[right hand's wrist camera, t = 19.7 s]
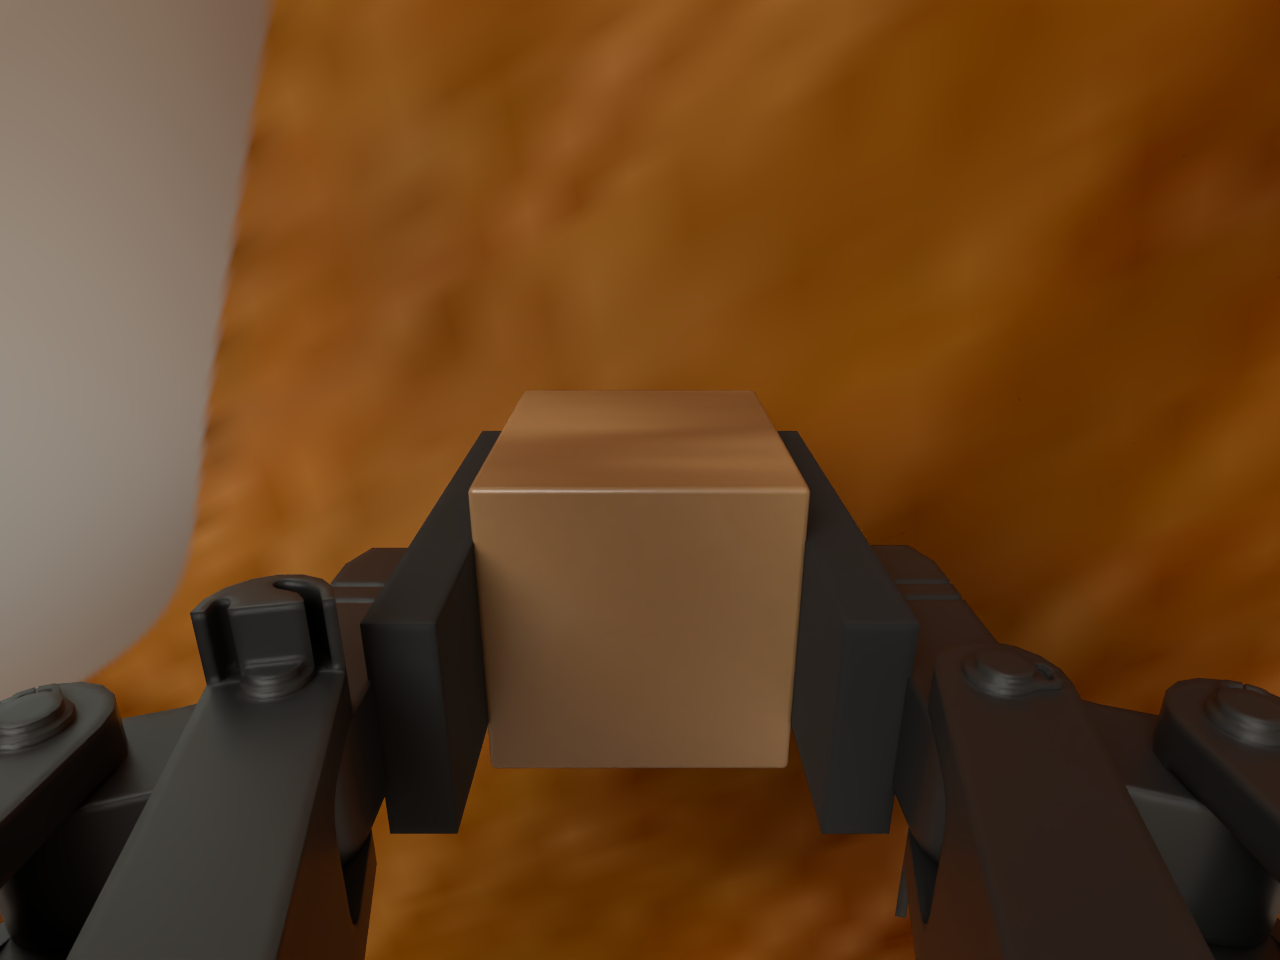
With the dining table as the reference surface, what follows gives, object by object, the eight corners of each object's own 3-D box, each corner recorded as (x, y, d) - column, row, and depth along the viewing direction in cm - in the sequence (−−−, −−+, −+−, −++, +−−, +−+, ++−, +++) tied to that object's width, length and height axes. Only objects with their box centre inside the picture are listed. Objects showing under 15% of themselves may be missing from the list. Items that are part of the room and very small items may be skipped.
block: (755, 389, 14) (812, 488, 9) (744, 597, 15) (788, 770, 11) (523, 389, 14) (466, 488, 9) (534, 597, 15) (489, 770, 11)
